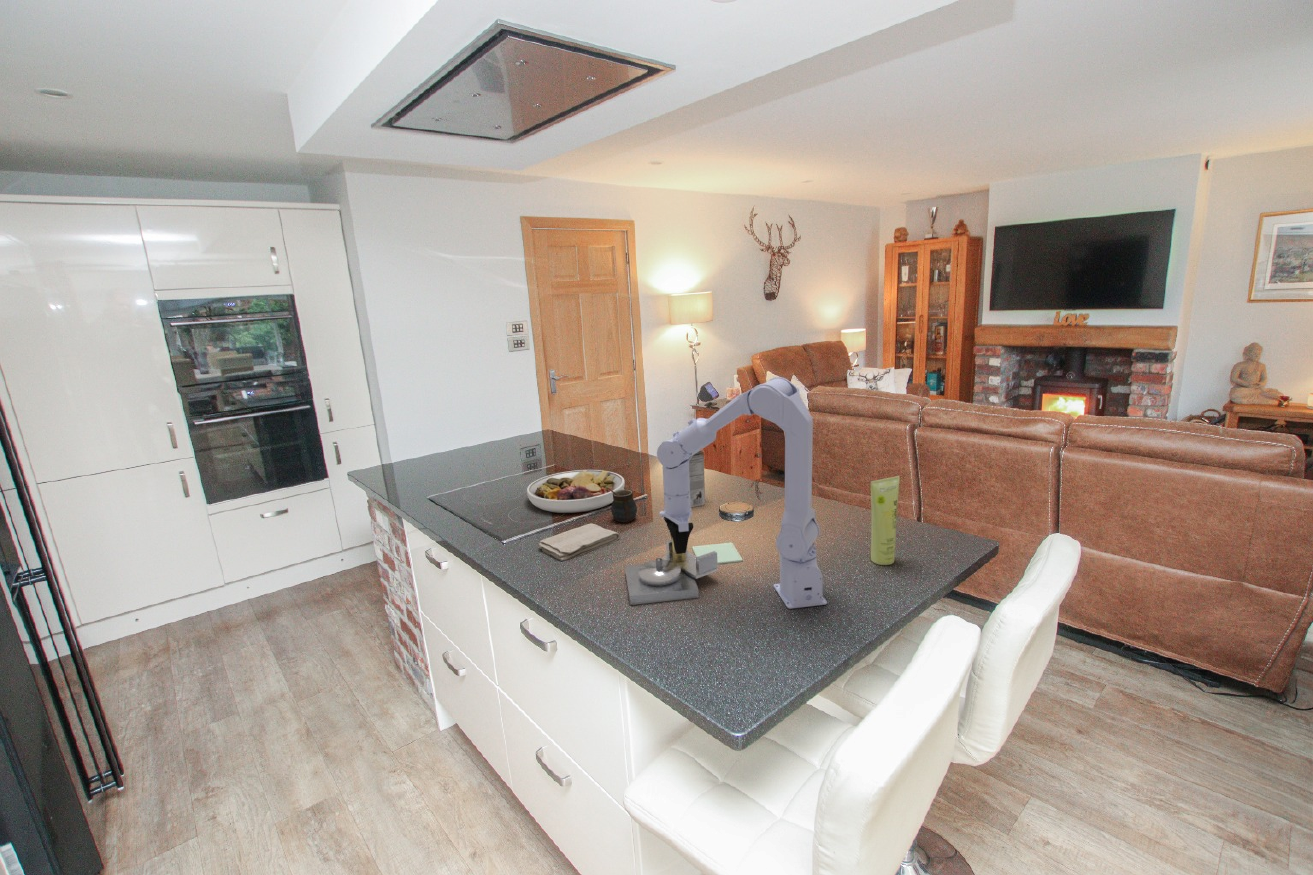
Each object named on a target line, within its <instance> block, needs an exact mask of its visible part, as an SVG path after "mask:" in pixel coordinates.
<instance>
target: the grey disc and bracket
mask: <svg viewBox="0 0 1313 875" xmlns="http://www.w3.org/2000/svg"><path fill="white" fill-rule="evenodd" d="M665 546H666V555H664V556H662V558H661V557H657V558H655V559H654V560H651V561H646V562H645V563H642V564H643V565H641V566H640V567H639V579H640V580H641V581H642V582H643V583H645V584H649V585H655V586H660V585H668V584H671V583H674V582H676V581H677V580H678V579H679V578H680V577H681V570H682V571H684V572H685V573H687V574H689V575H690V576H692V577H694V579H695V580H697V579H699V578H703V577H704V576H707V575H710V574H713V573H715V572H718V571H719V566H718V565H719V564H717V552H715V551H713V552H710V553H707V554H705V555H702V556H699V557H697V556H695V554H693V553H691V552H690V551H689V550H688V548H687V549H686V560H684V561H675V560H673V549H672V539H670V540H666V543H665Z"/></svg>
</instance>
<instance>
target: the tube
mask: <svg viewBox="0 0 1313 875" xmlns="http://www.w3.org/2000/svg"><path fill="white" fill-rule="evenodd" d="M900 479H901V478H900V475H896V476H892V477H887V478H882V479H881V478H880V479H877V480H872V481H870V504H871V506H870V507H871V509H870V510H871V514H870V515H871V523H870V524H871V528H870V529H871V534H870V535H871V537H870V538H871V540H870V541H871V542H870V560H871V561H872V563H874V564H876V565H879V566H880V565H881V566H889V565H892V564H894V563H895V554H896V536H897V535H896V534H897V517H898V504H899V491H900V490H899V489H900Z"/></svg>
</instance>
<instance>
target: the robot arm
mask: <svg viewBox="0 0 1313 875" xmlns="http://www.w3.org/2000/svg"><path fill="white" fill-rule="evenodd" d="M754 414H755V415H756V416H758V417H760V418H762V419H764V420H767V421H769V422H771V423H773V424H775V425H776V426H778V427H779V429H781V430H783V432H784V511H783V514H782V518H781V522H780V530H779V534H778V535H777V537H776V540H775V545H776V546H775V547H776V549H777V551H778V553H779V583H774V584H773V588H774V589H775V591H776V593H777V594H778V596H779V597H780V599H781V600H782V602H783V603H784V605H785V606H786V608H787V609H790V610H791V609H799V608H806V607H815V606H823V605H824V606H825V605H827V604H828V601H827V600H826V599H825V597H824V595H823V593H824V592H823V589H824V588H823V586H824V585H823V581H824V580H823V579H824V578H823V573H822V571H821V570H820V568H819V565H818V560H817V559H818V550H817V548H816V545H815V542H816V541H817V539H818V538H819V536H820V531H821V530H820V526H819V523H818V522H817V520H816V519H817V518H816V510H815V509H814V508H813V507H812V499H813V497H812V496H813V495H812V494H813V493H812V491H813V440H814V437H813V436H814V435H813V434H814V420H813V416H812V415H811V413H810V411H809V410H808V408H807V405H806V404H805V402H804V400H803V399H802V397H801V394H800V389H799V387H797V386H796V385H795V384H794V383H792V381H790V380H789V379H787V378H785V377H781V376H777V377H773V378H770V379H769V380H768V381H766V382H764V383H761V384H758V385H756V386H754V387H753V388H751V389H749V390H747V391H745V392H743V393H740V394H738V395H737V396H736V397H734V398H733V399H731V400H730V401H729V402H728V403H727V404H725V405H724V406H723V407H721V408H720V409H718V410H717V411H716V412H715V413H714V414H713V415H711V416H710V417H709V418H704V417H698V418H691V419H690V420H689V421H688V422H687V423H688V425H687V426H685V427H684V428H683V429H682V430H680V431H679V430H678V431H677V430H676V431H675V432H674V433H672V438H670V439H667V440H664V441H662V442H661V444H659V446H658V447H657V450H656V457H657V460H658V462H659V463H660V465H662V482H663V502H664V510H661V511H659V517H661V518H663V520H664V522H665V523H666V527H667V529H668V531H669V533H670V538H671V539H670V540H672V538H673V543H674V548H675V551H676V554H682V553H686V549H687V550H688V543H689V538H690V535H691V533H692V532H693V529H694V523H693V522H689V521H690V519H691V517H692V515H693V510H692V507H691V504H690V481H689V460H690V458H691V457H692V456H693V455H694V454H696V453H697V452H699V451H702V450H703V449H704V448H706V447H708V446H709V445H711V444H712V443H714V442H715V441H716V439H717V432H718V431H719V430H721V429H722V428H724V427H725V426H727V425H729V424H730V423H732V422H733V421H735V420H736V419H738V418H739V417H741V416H742V415H745V416H752V415H754Z"/></svg>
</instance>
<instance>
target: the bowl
mask: <svg viewBox="0 0 1313 875" xmlns="http://www.w3.org/2000/svg"><path fill="white" fill-rule="evenodd" d="M625 484H626V483H625V478H624V477H623V476H622V475H621V474H618V473H616V472H613V471H609V470H603V469H578V470H570V471H568V470H567V471H563V472H557V473H553V474H548V475H546V476H543V477H540V478H538V479H536V480H534V481H532V482H531V483H529V485H528V486H527V488H526V494H527V497H528V500H529V501H530V503H531V504H532V505H534V506H535V508H536V507H537V508H538V509H540V510H543V511H546V512H551V513H558V514H561V513H562V514H570V513H571V514H572V513H574V514H575V513H583V512H589V511H594V510H598V509H600V508H603V507H606V506H609V505H610V504H611V505H612V502H613V493H612V492H611V491H610V490H609V489H608V488H610V489H611V490H612V491H613V492H615V491H618V490H625Z"/></svg>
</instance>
